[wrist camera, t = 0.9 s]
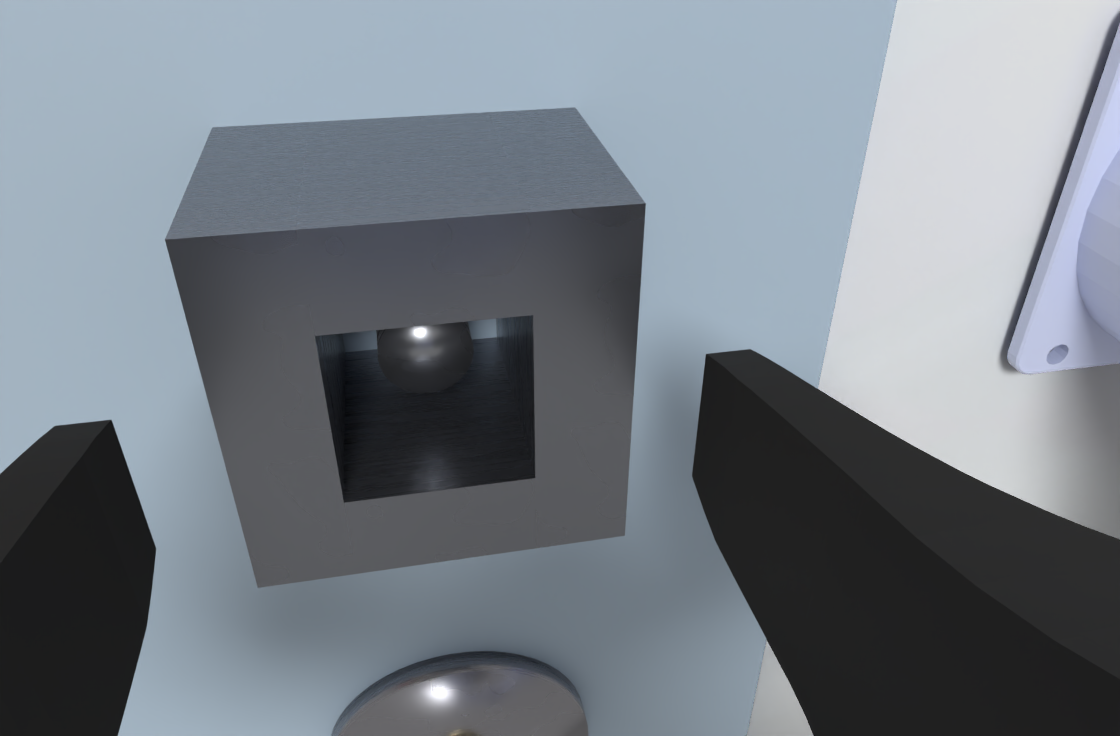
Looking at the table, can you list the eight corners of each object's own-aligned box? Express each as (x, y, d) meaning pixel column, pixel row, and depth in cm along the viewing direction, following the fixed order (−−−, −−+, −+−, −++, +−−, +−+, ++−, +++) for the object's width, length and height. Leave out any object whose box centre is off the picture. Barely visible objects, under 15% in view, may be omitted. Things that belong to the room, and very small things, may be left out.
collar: (575, 107, 14) (646, 203, 10) (570, 391, 17) (624, 535, 13) (211, 127, 13) (164, 239, 10) (276, 424, 16) (257, 588, 13)
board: (876, -65, 14) (907, -57, 13) (714, 813, 28) (724, 843, 28) (-228, -41, 12) (-273, -29, 11) (203, 916, 26) (198, 953, 25)
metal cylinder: (454, 236, 14) (471, 308, 12) (458, 309, 15) (475, 388, 13) (369, 243, 14) (372, 317, 12) (378, 316, 15) (382, 397, 13)
